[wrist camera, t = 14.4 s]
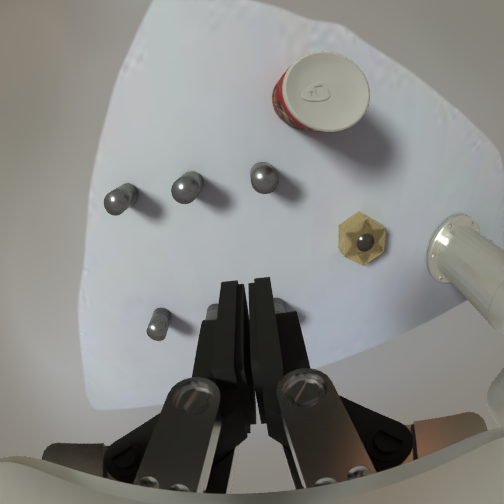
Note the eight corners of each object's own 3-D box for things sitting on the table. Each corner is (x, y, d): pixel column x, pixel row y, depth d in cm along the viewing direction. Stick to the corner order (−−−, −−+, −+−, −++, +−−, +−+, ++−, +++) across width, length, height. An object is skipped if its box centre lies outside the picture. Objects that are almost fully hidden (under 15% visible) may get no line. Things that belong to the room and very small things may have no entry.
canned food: (258, 91, 30) (264, 76, 20) (312, 60, 28) (339, 37, 18) (294, 141, 33) (315, 149, 23) (345, 110, 31) (385, 107, 21)
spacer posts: (273, 160, 34) (277, 166, 30) (285, 312, 44) (288, 331, 40) (116, 185, 34) (101, 194, 30) (156, 322, 44) (150, 340, 40)
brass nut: (368, 204, 37) (377, 211, 34) (384, 236, 39) (393, 245, 36) (328, 231, 38) (334, 240, 35) (347, 262, 40) (354, 272, 38)
